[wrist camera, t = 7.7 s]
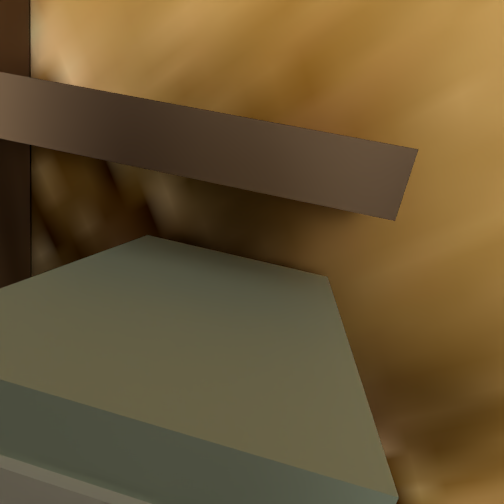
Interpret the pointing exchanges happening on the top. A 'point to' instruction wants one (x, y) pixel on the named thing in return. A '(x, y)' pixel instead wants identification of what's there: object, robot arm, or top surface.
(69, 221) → the top surface
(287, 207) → the top surface
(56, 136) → the walnut comb rail
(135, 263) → the frame block
